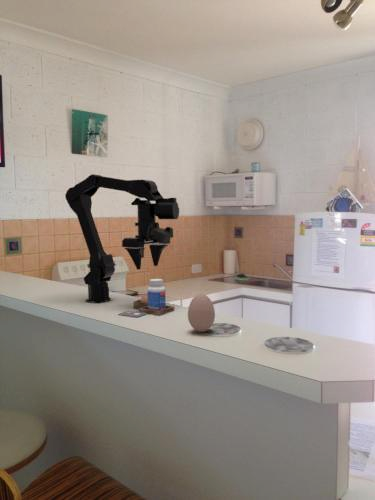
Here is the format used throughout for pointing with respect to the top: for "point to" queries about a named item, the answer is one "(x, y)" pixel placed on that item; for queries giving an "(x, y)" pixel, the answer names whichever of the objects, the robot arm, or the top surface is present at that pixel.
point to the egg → (201, 313)
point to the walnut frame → (139, 304)
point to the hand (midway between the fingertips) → (147, 267)
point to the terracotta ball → (144, 299)
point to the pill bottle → (156, 295)
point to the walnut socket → (154, 312)
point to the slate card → (132, 314)
